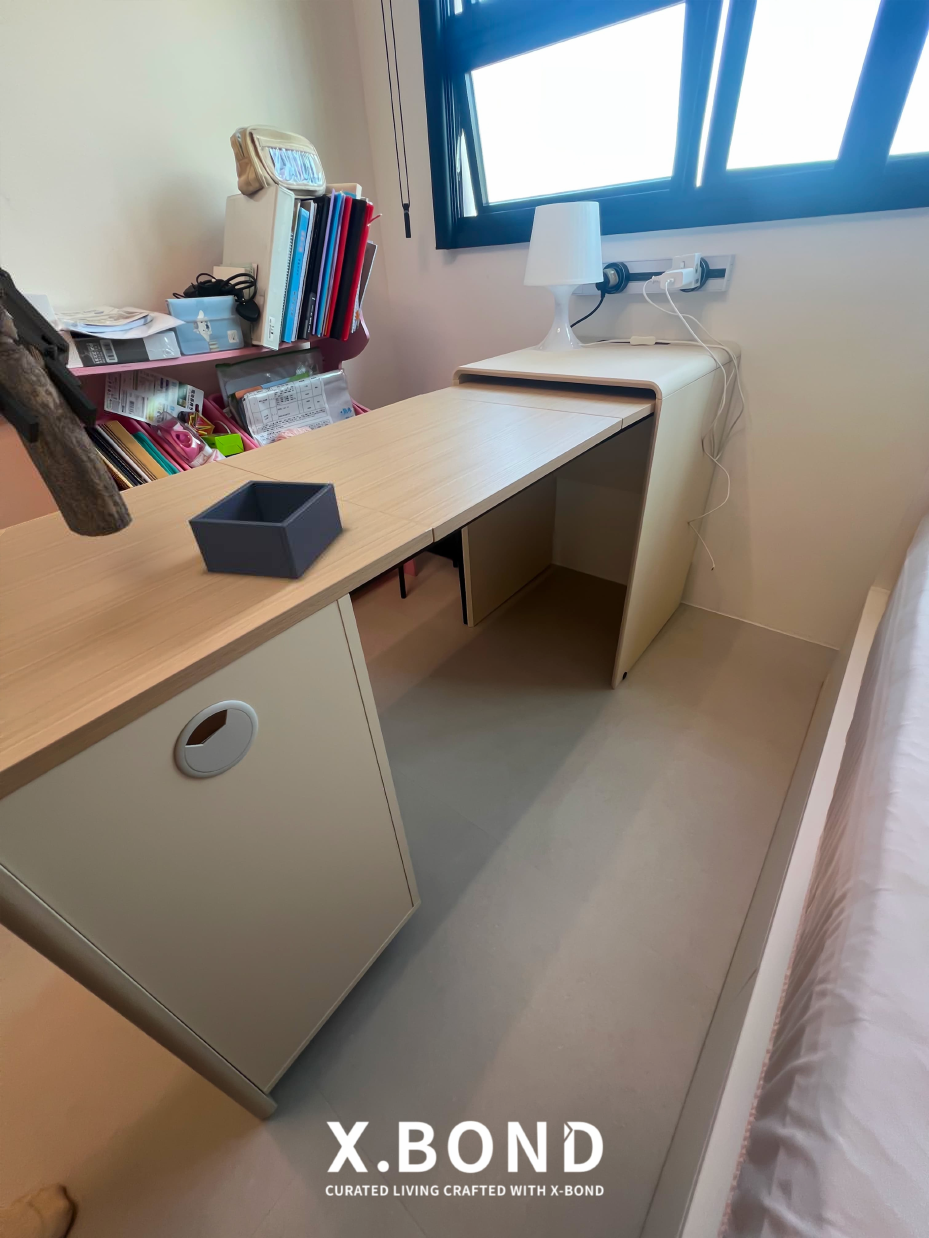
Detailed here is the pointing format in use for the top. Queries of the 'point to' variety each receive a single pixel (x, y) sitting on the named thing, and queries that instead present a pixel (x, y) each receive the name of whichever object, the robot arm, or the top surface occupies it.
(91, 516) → the statue
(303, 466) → the top surface
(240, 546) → the bin
